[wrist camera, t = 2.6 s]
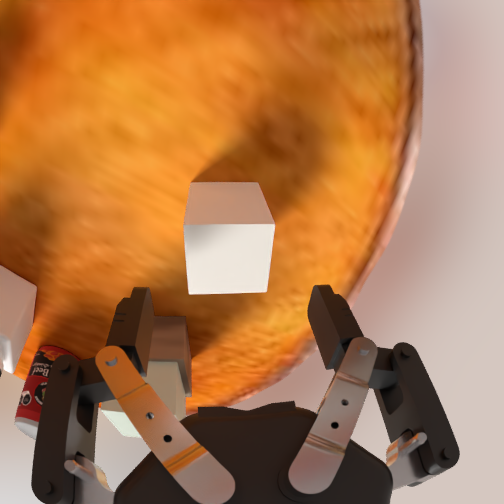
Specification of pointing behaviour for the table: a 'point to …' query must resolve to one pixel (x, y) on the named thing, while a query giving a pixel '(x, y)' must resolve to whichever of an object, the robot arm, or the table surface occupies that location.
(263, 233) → the cream block
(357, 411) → the robot arm
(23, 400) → the canned food
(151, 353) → the walnut base block
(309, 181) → the table surface
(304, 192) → the table surface
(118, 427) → the sage block
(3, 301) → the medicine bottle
